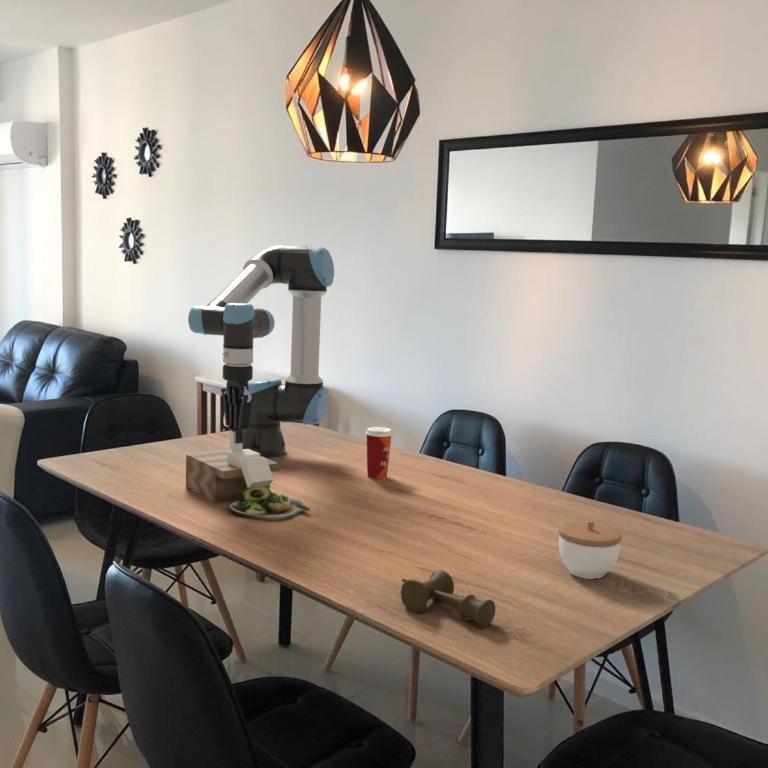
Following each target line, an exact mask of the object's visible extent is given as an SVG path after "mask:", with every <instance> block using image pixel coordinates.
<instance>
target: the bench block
mask: <svg viewBox="0 0 768 768" xmlns="http://www.w3.org/2000/svg"><path fill="white" fill-rule="evenodd" d="M242 450H243V449H242ZM228 451H230V448H226V449H218V450H210V451H202V452H201V451H200V452H195V453H194V452H193V453H186V454H185V488H186V487H187V488H186V489H188V488H189V489H188V490H190V491H191V492H194V493H196V494H198V495H199V496H201V495H202V497H203V496H204V497H203V498H205V497H206V499H207V498H208V499H207V500H209V499H210V500H209V501H211V500H212V501H211V502H213V503H215V502H216V503H221V501H222V502H227V501H232V500H240V499H242V498H243V496H242V494H243V492H244V491H245V490H246V489H247V488H248V487H247V484H246V481H245V478H244V475H243V472H242V469H241V468H238V467H235V466H233V465H231V464H229V463H227V460H228ZM260 459H267V462H268V464H269V467H270V470H271V473H272V472H273V473H274V472H279V467H280V466H279V464H280V463H279V462H277V461H273V460H272V459H269V458H268V457H262V456H260ZM270 485H271V484H270ZM270 485H267V486H265V487H267V488H269V489H270V490H271V486H270Z"/></svg>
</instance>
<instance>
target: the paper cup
mask: <svg viewBox="0 0 768 768" xmlns="http://www.w3.org/2000/svg"><path fill="white" fill-rule="evenodd" d="M365 435H366V465H367V466H366V467H367V468H366V471H367V478H369V477H370V478H369V479H371V478H373V479H372V480H384V479H383V478H385V479H387V478H386V477H388V473H389V471H388V470H389V462H390V461H389V460H390V452H391V450H390V449H391V440H392V435H393V432H392V430H391V428H389V427H383V426H371V427H368V428H367V429H366V431H365Z"/></svg>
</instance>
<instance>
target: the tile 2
mask: <svg viewBox="0 0 768 768" xmlns="http://www.w3.org/2000/svg"><path fill="white" fill-rule="evenodd" d="M267 459H268V458H267ZM267 459H259V460H250V461H245V462H244V463H243V464H242V466H241V469H242V472H243V475H244V478H245V481H246V484H247V487H248V488H253V487H260V486H267V485H271V484H272V482H273V481H274V476H273V473H272V472H271V470H270V467H269V464H268V462H267Z"/></svg>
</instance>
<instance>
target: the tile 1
mask: <svg viewBox="0 0 768 768" xmlns="http://www.w3.org/2000/svg"><path fill="white" fill-rule="evenodd" d="M259 459H260V453H257V452H255V451H252V450H250V449H243V450H236V451H228V460H227V463H229V464H231V465H233V466H235V467H238V468H241V466H242V464H243V463H244V462H245V461H250V460H259Z"/></svg>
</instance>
